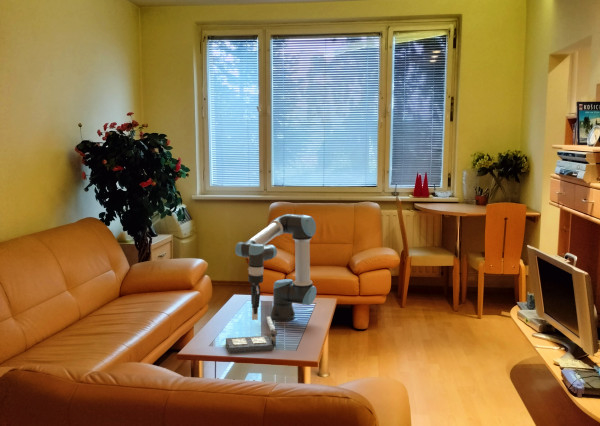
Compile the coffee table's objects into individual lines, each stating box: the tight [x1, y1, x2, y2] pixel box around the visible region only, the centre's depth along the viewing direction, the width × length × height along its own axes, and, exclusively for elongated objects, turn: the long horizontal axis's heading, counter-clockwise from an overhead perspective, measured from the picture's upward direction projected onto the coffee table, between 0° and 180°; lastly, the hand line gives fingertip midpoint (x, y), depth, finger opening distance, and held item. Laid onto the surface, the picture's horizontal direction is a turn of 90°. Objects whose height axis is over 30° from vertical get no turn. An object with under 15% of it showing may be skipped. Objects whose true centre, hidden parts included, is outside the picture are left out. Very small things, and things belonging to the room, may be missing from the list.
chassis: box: [225, 335, 277, 354], centre depth 277 cm, size 25×14×5 cm, turn 105°
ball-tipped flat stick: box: [266, 315, 278, 337], centre depth 291 cm, size 26×3×3 cm, turn 10°
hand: (254, 319), depth 276 cm, fingers closed
